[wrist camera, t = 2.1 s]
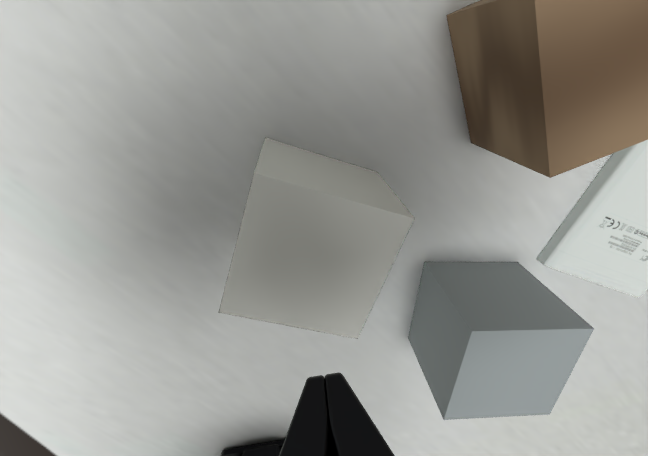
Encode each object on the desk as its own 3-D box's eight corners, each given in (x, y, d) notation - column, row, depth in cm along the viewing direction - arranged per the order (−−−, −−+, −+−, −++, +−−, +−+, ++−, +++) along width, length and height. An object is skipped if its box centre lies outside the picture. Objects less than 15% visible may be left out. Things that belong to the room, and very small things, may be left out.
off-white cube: (339, 265, 20) (357, 339, 15) (238, 241, 19) (218, 313, 14) (377, 171, 18) (415, 218, 12) (265, 136, 17) (253, 172, 11)
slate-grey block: (490, 335, 24) (549, 414, 18) (407, 336, 23) (443, 419, 18) (516, 261, 21) (594, 328, 16) (424, 261, 21) (471, 331, 15)
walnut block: (585, 95, 17) (720, 111, 12) (470, 142, 18) (550, 177, 12) (580, -44, 14) (752, -107, 9) (445, 15, 15) (533, -11, 10)
